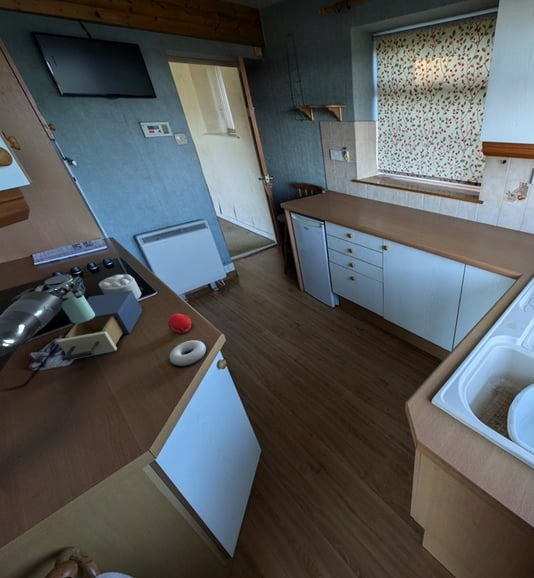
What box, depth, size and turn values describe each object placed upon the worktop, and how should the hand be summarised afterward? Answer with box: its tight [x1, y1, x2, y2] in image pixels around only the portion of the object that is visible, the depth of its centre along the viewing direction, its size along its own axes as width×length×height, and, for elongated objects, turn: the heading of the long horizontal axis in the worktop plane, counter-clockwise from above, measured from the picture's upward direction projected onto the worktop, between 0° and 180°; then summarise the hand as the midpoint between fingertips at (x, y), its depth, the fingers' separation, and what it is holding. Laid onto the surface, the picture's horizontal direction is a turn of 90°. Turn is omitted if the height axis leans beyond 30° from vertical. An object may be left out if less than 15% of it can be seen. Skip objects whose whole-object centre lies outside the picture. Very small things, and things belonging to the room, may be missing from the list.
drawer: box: [56, 315, 124, 361], centre depth 94 cm, size 19×12×7 cm, turn 21°
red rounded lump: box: [167, 313, 192, 334], centre depth 104 cm, size 8×6×6 cm
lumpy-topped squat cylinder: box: [98, 273, 142, 300], centre depth 120 cm, size 10×13×9 cm
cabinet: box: [69, 291, 143, 336], centre depth 104 cm, size 15×13×9 cm
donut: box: [169, 339, 207, 367], centre depth 93 cm, size 10×4×10 cm
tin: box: [44, 274, 95, 324], centre depth 87 cm, size 6×6×14 cm
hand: (66, 281), depth 86 cm, fingers closed on tin, 5 cm apart
